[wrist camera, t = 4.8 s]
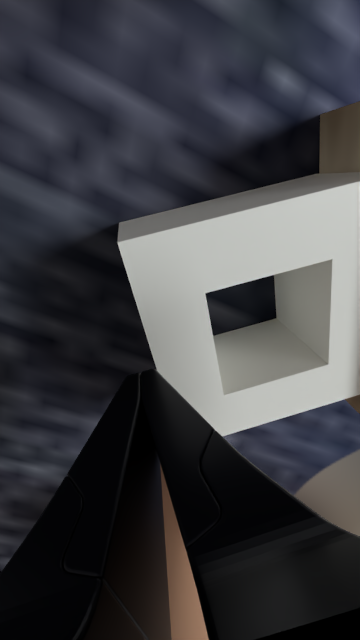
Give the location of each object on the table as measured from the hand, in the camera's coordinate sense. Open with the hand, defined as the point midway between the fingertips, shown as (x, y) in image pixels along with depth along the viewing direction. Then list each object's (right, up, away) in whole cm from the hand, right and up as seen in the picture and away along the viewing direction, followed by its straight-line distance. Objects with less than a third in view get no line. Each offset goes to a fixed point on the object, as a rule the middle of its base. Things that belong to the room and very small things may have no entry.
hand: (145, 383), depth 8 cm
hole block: (+3, +3, +5) cm, 7 cm away
